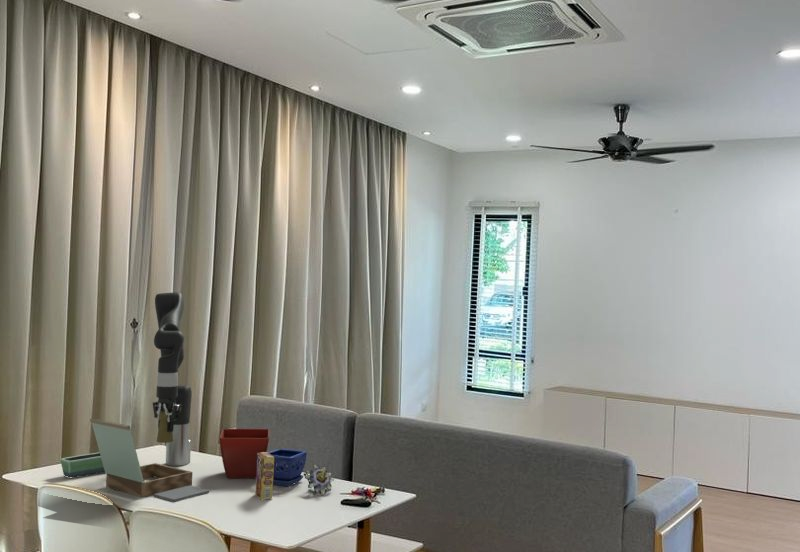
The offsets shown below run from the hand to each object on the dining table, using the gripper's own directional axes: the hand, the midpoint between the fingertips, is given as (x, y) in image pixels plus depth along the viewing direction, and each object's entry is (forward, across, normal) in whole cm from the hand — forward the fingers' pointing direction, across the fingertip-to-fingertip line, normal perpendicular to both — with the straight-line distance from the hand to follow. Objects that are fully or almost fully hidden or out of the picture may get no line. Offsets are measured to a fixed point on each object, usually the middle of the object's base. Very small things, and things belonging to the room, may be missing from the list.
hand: (165, 430), depth 282 cm
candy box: (+22, -33, -19) cm, 44 cm away
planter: (+22, +43, 0) cm, 48 cm away
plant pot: (+22, -4, -36) cm, 42 cm away
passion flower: (+22, -43, -37) cm, 61 cm away
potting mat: (+22, -9, -1) cm, 24 cm away
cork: (+4, 0, 0) cm, 4 cm away
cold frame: (+22, +10, -1) cm, 24 cm away
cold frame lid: (+6, +9, +14) cm, 18 cm away
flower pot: (+22, -25, -38) cm, 50 cm away
